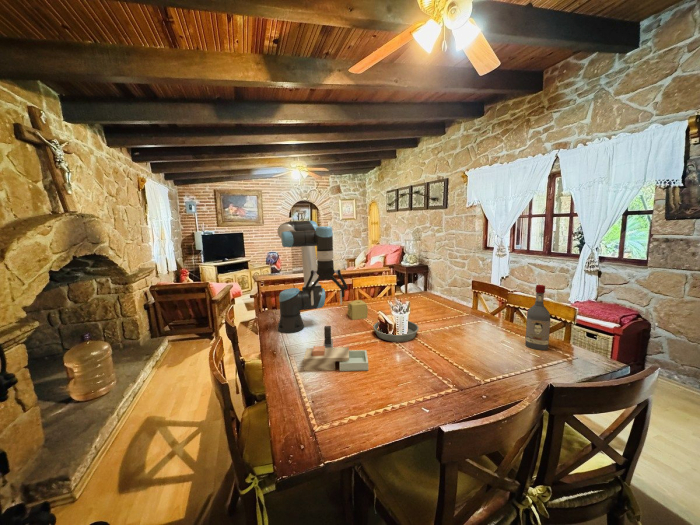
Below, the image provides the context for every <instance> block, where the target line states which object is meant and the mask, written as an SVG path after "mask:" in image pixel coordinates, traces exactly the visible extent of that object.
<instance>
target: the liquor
mask: <svg viewBox="0 0 700 525" xmlns="http://www.w3.org/2000/svg"><path fill="white" fill-rule="evenodd" d="M535 292H536V293H535V294H536V295H535V302H534V304H533V305H532V306H531V307H529V308H528V310H527V312H526V326H525V327H526V328H525V329H526V330H525V341H524V344H525V346H526V347H527V348H529V349H533V350H538V351H547V350H548V349H549V341H550V331H551V330H550V328H551V314H550V312H549V310H548V309H547V307H546V306H545V304H544V301H545V300H544V297H545V296H544V295H545V293H546V285H543V284H535Z"/></svg>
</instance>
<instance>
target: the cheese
mask: <svg viewBox="0 0 700 525" xmlns="http://www.w3.org/2000/svg"><path fill="white" fill-rule="evenodd" d="M368 309H369V308H368V303H366V301H364V300H362V299H356V300H352V301H351V302H349V303H348V304H347V312H346V313H347V316H348V317H349V318H350V319H351V320H352V321H355V320H362V319H367V318H368V312H369V311H368Z"/></svg>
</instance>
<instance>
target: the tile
mask: <svg viewBox="0 0 700 525" xmlns="http://www.w3.org/2000/svg"><path fill="white" fill-rule="evenodd" d="M312 348H313V351H312V352H313V356H323V355H325V346H324V345H317V346H313V347H312Z"/></svg>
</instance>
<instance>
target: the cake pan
mask: <svg viewBox="0 0 700 525" xmlns="http://www.w3.org/2000/svg"><path fill="white" fill-rule="evenodd" d="M407 321H408V332H407V334H402V335H393V334H386V333H383V332H382V331H381V330H379V331H378V330H377V328H378V322H379V321H378V322H376V323H374V324H373V326H372V327H373V330H374V331H375V333H376V336H377V337H378V338H379V339H380V340H381V339H382V340H385V341H389V342H396V343H397V342H398V343H399V342H407V341H411V340H413V339H415V338H416V334H417V332H418V331H419V329H420V326H419V325H418V324H417V323H415V322H412V321H409V320H407Z"/></svg>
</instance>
